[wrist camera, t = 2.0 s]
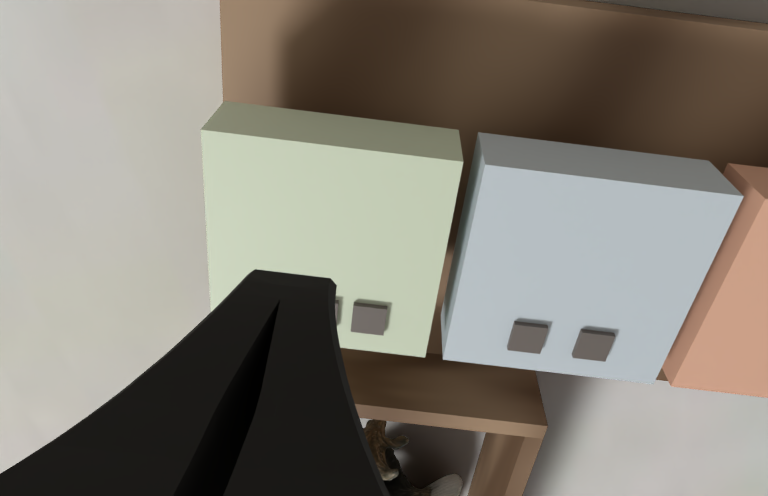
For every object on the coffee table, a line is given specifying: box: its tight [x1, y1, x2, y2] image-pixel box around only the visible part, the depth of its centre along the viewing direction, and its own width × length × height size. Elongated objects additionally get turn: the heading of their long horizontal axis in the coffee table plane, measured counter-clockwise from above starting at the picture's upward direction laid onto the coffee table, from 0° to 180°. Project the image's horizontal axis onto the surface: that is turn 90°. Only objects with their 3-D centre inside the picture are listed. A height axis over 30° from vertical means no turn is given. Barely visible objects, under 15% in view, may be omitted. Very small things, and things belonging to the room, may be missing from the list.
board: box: [220, 0, 768, 496], centre depth 22 cm, size 20×26×4 cm
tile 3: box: [201, 101, 463, 357], centre depth 16 cm, size 6×6×2 cm
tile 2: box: [441, 132, 744, 384], centre depth 16 cm, size 6×6×2 cm
